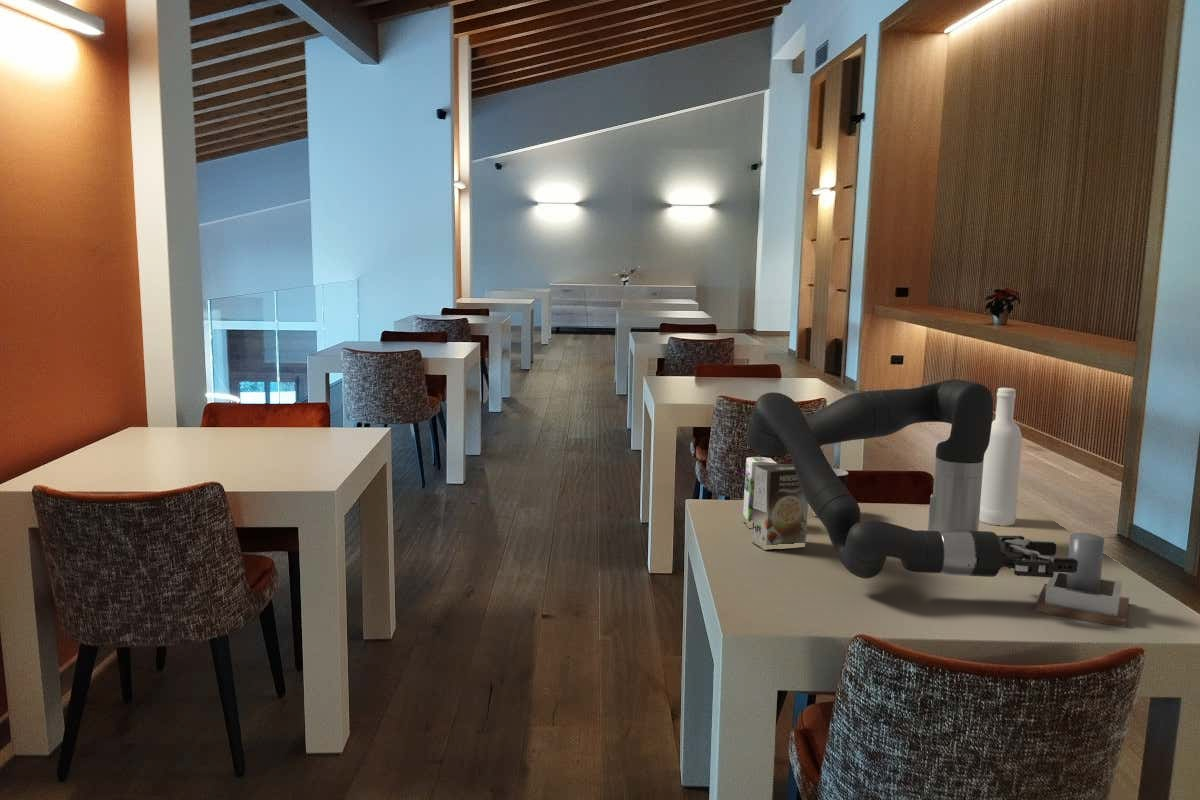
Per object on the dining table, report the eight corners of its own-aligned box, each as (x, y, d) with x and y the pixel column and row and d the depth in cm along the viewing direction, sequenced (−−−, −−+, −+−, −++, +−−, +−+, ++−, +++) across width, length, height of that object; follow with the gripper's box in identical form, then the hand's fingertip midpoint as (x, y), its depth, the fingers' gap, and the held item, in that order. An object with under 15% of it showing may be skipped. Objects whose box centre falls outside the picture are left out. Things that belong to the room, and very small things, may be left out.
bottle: (1016, 528, 206) (1027, 391, 202) (977, 524, 209) (988, 389, 205) (1014, 519, 214) (1025, 387, 210) (976, 515, 216) (986, 385, 212)
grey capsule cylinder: (1063, 603, 156) (1068, 539, 155) (1066, 594, 160) (1071, 531, 159) (1097, 608, 154) (1103, 543, 152) (1099, 599, 158) (1104, 535, 156)
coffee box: (765, 551, 185) (769, 471, 183) (750, 542, 191) (753, 464, 189) (806, 548, 188) (810, 469, 186) (790, 539, 194) (794, 462, 192)
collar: (1044, 604, 155) (1046, 586, 155) (1051, 586, 164) (1053, 570, 164) (1117, 617, 150) (1119, 599, 150) (1120, 598, 159) (1122, 581, 159)
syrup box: (741, 521, 207) (744, 456, 205) (768, 521, 207) (771, 456, 205) (748, 528, 201) (751, 462, 199) (775, 528, 202) (778, 462, 200)
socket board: (1035, 611, 155) (1035, 605, 155) (1044, 589, 166) (1044, 583, 166) (1125, 627, 148) (1125, 621, 148) (1128, 603, 160) (1129, 597, 159)
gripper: (951, 560, 166) (1047, 564, 165) (977, 589, 152) (1081, 594, 151) (955, 519, 165) (1051, 522, 164) (981, 544, 151) (1086, 549, 150)
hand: (1065, 557), depth 157 cm, fingers open, 8 cm apart
